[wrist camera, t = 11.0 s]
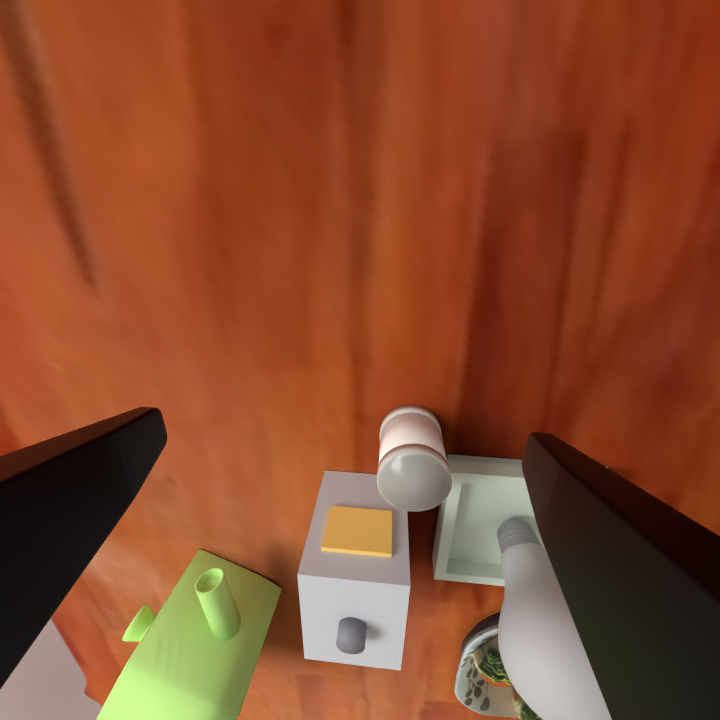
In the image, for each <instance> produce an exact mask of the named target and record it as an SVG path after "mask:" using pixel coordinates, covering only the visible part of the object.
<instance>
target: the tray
mask: <svg viewBox="0 0 720 720" xmlns="http://www.w3.org/2000/svg"><path fill="white" fill-rule="evenodd" d="M447 463H448V465H449V469H450V473H451V478H452V488H451V491H450V493H449V495H448V497H447V498H446V499H445V500H444V501H443V502H442V503H441V504H440V506H439V513H438V520H437V526H436V533H435V540H434V547H433V553H432V564H433V573H434V579H437V580H447V581H457V582H467V583H477V584H487V585H497V586H505V582H504V573H503V569H502V565H501V557H502V553H501V550H500V546H499V543H498V538H497V530H498V528H499V527H500V525H501V524H503V523H504V522H506V521H509V520H522V521H525V522H527V523H528V524H530V525H531V527H532V528H533V530H534V532H535V533H536V535H537V537H538V540H539V541H540V543H541V546H542V547H544V544H543V542H542V539H541V536H540V533H539V530H538V527H537V523H536V520H535V516H534V512H533V509H532V505H531V501H530V497H529V494H528V490H527V486H526V482H525V479H524V475H523V471H522V460H519V459H505V458H491V457H477V456H464V455H450V454H447ZM605 467H606V468H608V467H607V466H605ZM608 469H609V468H608ZM544 548H545V547H544Z"/></svg>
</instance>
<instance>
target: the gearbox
mask: <svg viewBox="0 0 720 720" xmlns="http://www.w3.org/2000/svg"><path fill="white" fill-rule="evenodd" d="M281 590H282V589H281V588H280V587H278V586H277V585H275V584H274V583H272V582H271V581H269V580H267V579H266V578H264V577H262V576H260V575H258V574H256V573H253V572H251V571H249V570H247V569H245V568H243V567H241V566H239V565H236V564H234V563H232V562H230V561H227V560H225V559H223V558H220V557H218V556H216V555H213V554H211V553H209V552H206V551H204V550H202V549H201V550H198V552H197V553H196V555H195V556H194V558H193V560H192V561H191V563H190V564H189V566H188V567H187V569H186V571H185V572H184V574H183V575H182V577H181V578H180V580H179V582H178V583H177V585H176V586H175V588H174V589H173V591H172V593H171V594H170V596H169V597H168V599H167V600H166V602H165V603H164V605H163V607H162V608H161V610H160V611H159V613H158V615H157V616H156V614H155V613H154V612H153V610H152V609H151V608H150V606H149V605H147V604H145V605H144V606H143V607H142V608H141V609H140V611H139V612H138V613H137V615H136V616H135V617H134V619H133V620H132V622H131V623H130V625H129V627H128V628H127V630H126V632H125V634H124V636H123V639H122V641H140V643H139V644H138V646H137V648H136V649H135V651H134V652H133V654H132V655H131V657H130V659H129V660H128V662H127V664H126V665H125V667H124V669H123V671H122V672H121V674H120V676H119V678H118V680H117V682H116V683H115V685H114V687H113V689H112V691H111V693H110V694H109V696H108V698H107V700H106V702H105V704H104V706H103V707H102V709H101V711H100V713H99V715H98V717H97V719H96V720H236V719H237V717H238V716H239V713H240V711H241V708H242V705H243V702H244V699H245V696H246V693H247V690H248V687H249V684H250V681H251V679H252V676H253V673H254V670H255V667H256V664H257V661H258V658H259V655H260V652H261V649H262V646H263V643H264V640H265V637H266V635H267V632H268V629H269V626H270V623H271V620H272V617H273V614H274V611H275V608H276V605H277V602H278V599H279V596H280V593H281Z"/></svg>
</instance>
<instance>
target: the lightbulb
mask: <svg viewBox="0 0 720 720" xmlns="http://www.w3.org/2000/svg"><path fill="white" fill-rule="evenodd" d="M497 538H498V543H499V546H500V550H501V553H502V557H501V565H502V569H503V573H504V582H505V595H504V600H503V604H502V608H501V612H500V618H499V624H498V644H499V651H500V655H501V659H502V662H503V665H504V668H505V670H506V672H507V675H508V677H509V679H510V681H511V683H512V684H513V686H514V688H515V690H516V691H517V693H518V694H519V695H520V696H521V698H522V699H523V700H524V701H525V702H526V704H527V705H528V706H529V707H530V708H531V709H532V710H533V711H534V712H535V713H536V714H537V715H538V716H539V717H540V718H542V719H543V720H612V719H611V716H610V714H609V711H608V709H607V706H606V704H605V701H604V698H603V696H602V693H601V691H600V688H599V686H598V683H597V680H596V678H595V675H594V673H593V670H592V668H591V665H590V662H589V660H588V657H587V655H586V652H585V650H584V647H583V644H582V642H581V639H580V637H579V634H578V632H577V629H576V627H575V624H574V621H573V619H572V616H571V614H570V611H569V609H568V606H567V603H566V601H565V598H564V596H563V593H562V591H561V588H560V585H559V583H558V580H557V578H556V575H555V573H554V570H553V568H552V565H551V562H550V560H549V557H548V555H547V552H546V550H545V548H544V547H542V546H541V543H540V541H539V540H538V537H537V535H536V533H535V532H534V530H533V528H532V527H531V525H530V524H528V523H527V522H525V521H522V520H509V521H506V522H504V523H503V524H501V525H500V527H499V528H498V530H497Z"/></svg>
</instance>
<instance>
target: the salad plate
mask: <svg viewBox="0 0 720 720" xmlns="http://www.w3.org/2000/svg"><path fill="white" fill-rule="evenodd" d="M499 618H500V612H499V613H496V614H493V615H491V616H489V617H487V618H485V619H484V620H482V621H481V622H480V623H479V624H477V625H476V626H475V627H474V629H473V630H472V631H471V632H470V633H469V634H468V635H467V636H466V638H465V639H464V641H463V643H462V648H461V658H460V661H459V664H458V667H457V672H456V678H455V686H454V691H455V694H456V696H457V698H458V699H459V701H460V702H461V703H462V704H464V705H465V706H467V707H468V708H470V709H471V710H473V711H475V712H478V713H480V714H485V715H492V716H505V717H515V718H519V719H520V720H543V719H542V718H540V717H539V716H538V715H537V714H536V713H535V712H534V711H533V710H532V709H531V708H530V707H529V706H528V705H527V704H526V702H525V701H524V700H523V699H522V698H521V696H520V695H519V694H518V693H517V691H516V690H515V688H514V686H512V687H496V686H492V685H491V684H489V683H488V682H487V681H486V680H485V679H484V678H483V677H482V675H481V674H480V673H482V674H483V675H485V676H487V677H489V678H491V679H493V681H494V682H495V683H499V682H500V681H504V682H506V683H507V684H508V685H511V684H512V683H511V681H510V679H509V677H508V675H507V672H506V670H505V668H504V665H503V662H502V659H501V655H500V651H499V644H498V624H499ZM479 672H480V673H479Z"/></svg>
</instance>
